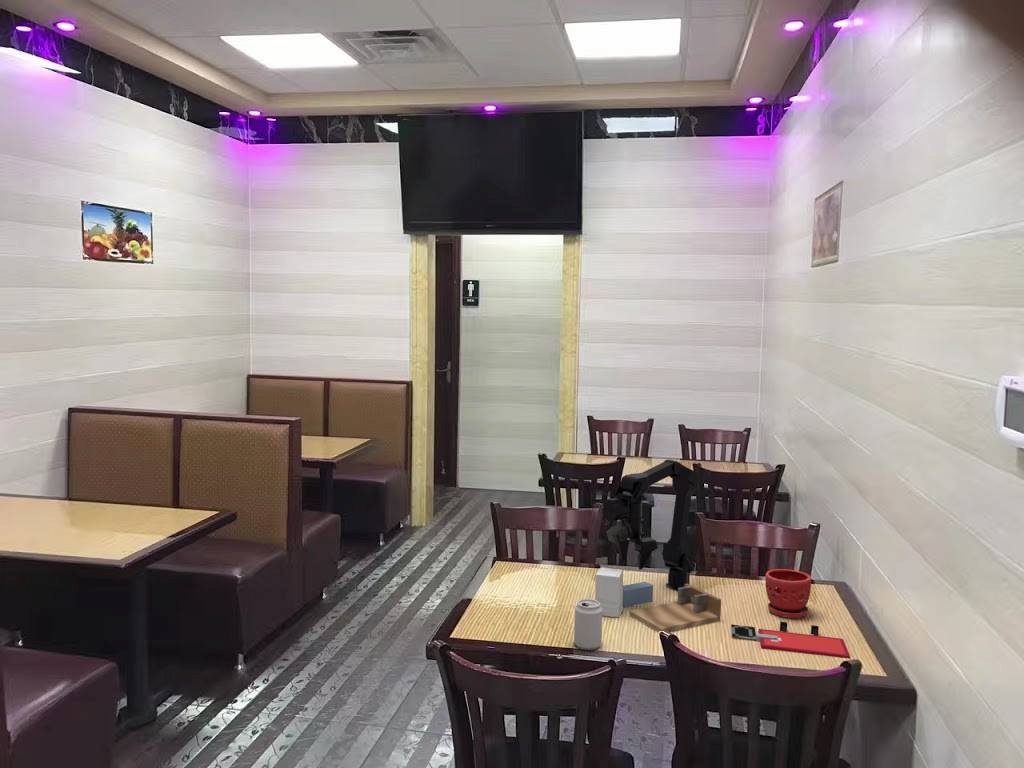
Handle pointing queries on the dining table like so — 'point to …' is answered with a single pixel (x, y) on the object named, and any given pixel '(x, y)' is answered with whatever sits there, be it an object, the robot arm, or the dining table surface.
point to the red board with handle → (794, 641)
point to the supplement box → (609, 591)
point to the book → (637, 594)
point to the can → (588, 624)
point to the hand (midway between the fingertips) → (631, 564)
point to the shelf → (681, 611)
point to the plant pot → (788, 592)
